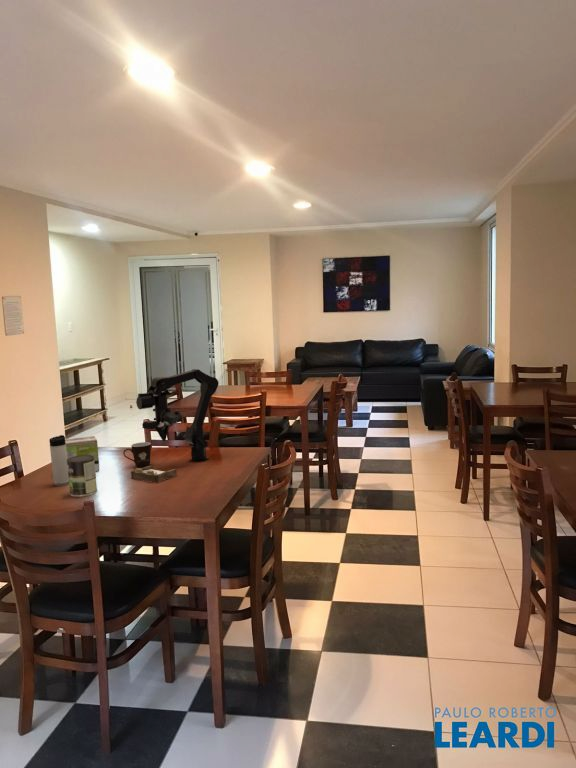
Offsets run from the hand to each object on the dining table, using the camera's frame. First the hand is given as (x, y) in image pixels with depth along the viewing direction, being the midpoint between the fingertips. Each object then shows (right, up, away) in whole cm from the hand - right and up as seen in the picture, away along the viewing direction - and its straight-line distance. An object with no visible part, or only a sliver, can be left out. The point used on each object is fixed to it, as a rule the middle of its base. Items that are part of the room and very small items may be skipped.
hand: (164, 440), depth 273 cm
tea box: (-37, -14, +2) cm, 40 cm away
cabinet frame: (-1, -14, -14) cm, 20 cm away
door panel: (-2, -15, -15) cm, 21 cm away
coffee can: (-25, -18, -31) cm, 44 cm away
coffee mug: (-12, -12, +6) cm, 18 cm away
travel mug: (-39, -17, -16) cm, 46 cm away
